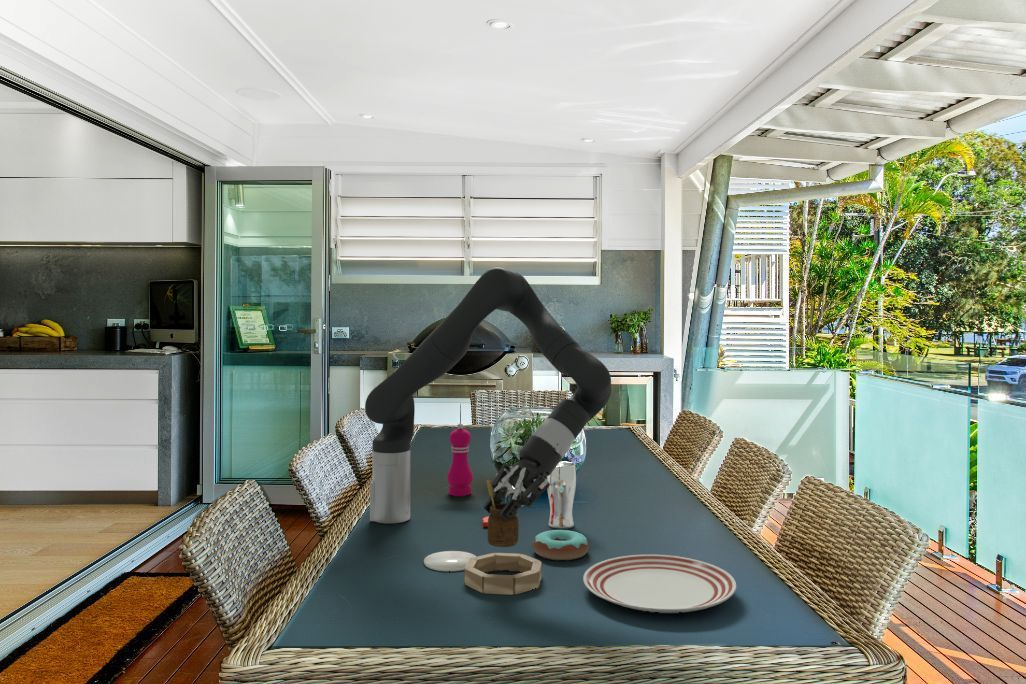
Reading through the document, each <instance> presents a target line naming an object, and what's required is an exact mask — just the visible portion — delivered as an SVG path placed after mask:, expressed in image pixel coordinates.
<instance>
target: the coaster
mask: <svg viewBox="0 0 1026 684" xmlns="http://www.w3.org/2000/svg"><path fill="white" fill-rule="evenodd" d="M473 557H478V556H476V555H475V554H473V553H471V552H467V551H459V550H446V551H445V550H444V551H437V552H434V553H431V554H428V555H427V556H426V557H424V558H423V559H424V560H423V563H424V566H425V567H426V568H428V569H430V570H434V571H437V572H438V571H439V572H449V571H450V572H460V571H464V568H465V566H466V564H467V562H468V560H469V559H471V558H473Z"/></svg>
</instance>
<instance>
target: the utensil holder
mask: <svg viewBox="0 0 1026 684" xmlns="http://www.w3.org/2000/svg"><path fill="white" fill-rule="evenodd" d="M491 484H492V483H491V479H490V478H488V479H487V480H486V485H487V491H488V495H489V497H491V499H492V504H493V505H492V506H491V507H490V515H489V518H488V527H487V543H488V544H489V545H491V546H493V547H497V548H509V547H510V548H511V547H513V546H515V545H517V544H518V543H519V526H520V523H519V518H518V515H517V514H518V510H517V511H516V513H515V514H514V515H513V517H512V518H511V519H510V520H509V521H508V522H506V521H504V520H503V519H502V518H501V517H500V515H499V514H500V512H501V511H502V510H503V508H504V507H505V506H506V504H507V503H500V504H494V500H493V493H494V490H493V488H492V486H491ZM511 488H514V489H515V487H511ZM511 488H510V489H511ZM510 489H509V490H510ZM509 490H507V491H509ZM512 490H513V489H512ZM511 492H512V491H511ZM507 493H508V492H507ZM514 493H515V491H514ZM514 493H513V494H514ZM506 495H507V494H506ZM508 496H509V497H511V496H512V494H511V493H509V495H507V496H506V497H505V498H507V497H508ZM509 500H510V498H508V500H507V501H508V502H509Z"/></svg>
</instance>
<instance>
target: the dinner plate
mask: <svg viewBox="0 0 1026 684" xmlns="http://www.w3.org/2000/svg"><path fill="white" fill-rule="evenodd" d="M582 578H583V579H582V581H583V583H584V586H585V587H586V588H587V590H588V591H589V592H591V593H592V594H594V595H595V596H597V597H599V598H601V599H603V600H605V601H608V602H610V603H612V604H615V605H619V606H621V607H624V608H629V609H632V610H637V611H641V610H642V612H646V611H649V612H648V613H654V612H659V613H658V614H680V613H679V612H682V613H690V612H696V611H697V612H698V611H701V610H705V609H709V608H712V607H715V606H718V605H720V604H722V603H724V602H726V601H727V600H728V599H730V598H731V597H732V596H733V595H734V594H735V593H736V590H737V583H736V580H735V578H734V576H733V575H731V573H729V572H728V571H726V570H725V569H723V568H721V567H719V566H716V565H714V564H712V563H708V562H705V561H702V560H698V559H694V558H689V557H684V556H683V557H682V556H678V555H668V554H631V555H623V556H617V557H613V558H608V559H605V560H602V561H599V562H597V563H595V564H593V565H591V566H590V567H588V568H587V570H585V572H584V573H583V577H582Z"/></svg>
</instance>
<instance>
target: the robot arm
mask: <svg viewBox="0 0 1026 684" xmlns="http://www.w3.org/2000/svg"><path fill="white" fill-rule="evenodd" d="M495 310H496V311H497V310H498V311H499V310H500V311H503V312H507V313H508V312H509V313H510V314H511V315H513V316H514V317H515V318H517V319H518V320H519V321H520V322H521V323H523V325H524V326H525V327H526V328H527V329H528V331H529V333H530V335H531V337H532V339H533V341H534V344H535V345H536V347H537V349H538V350H539V351H540V353H541V354H542V355H543V356H544V358H546V360H547V361H548V362H549V363H550V364H551V365H552V367H554V368H555V370H556V371H558V372H559V373H560V374H562V375H566V376H567V375H568V376H569V377H570V378H571V379H572V380H573V381H574V383H575V385H576V390H575V391H574V392H573V394H572V395H571V397H569V398H566V399H565V398H564V399H562V400H561V401H560V402H558V403H557V404H556V405H555V407H554V409H553V410H552V411H551V412H550V414H549V415H548V416H547V417H546V418H545V420H544V421H543V422H541V424H540V425H539V426H538V427H537V428H536V429H535V431H534V432H533V433H532V434H531V436H530V437H529V438H528V440H527V441H526V442H525V443H524V445H523V446H522V447H521V449H520V450H519V452H518V455H519V460H518V461H516V462H515V463H514V464H513V465H509V464H508V463H506V462H505V463H503V464H502V466H501V468H500V469H499V471H498V472H497V473H496V474H497V476H496V475H495V477H494V479H493V481H492V483H491V486H492V490H493V500H494V504H502V502H503V501H504V499H506V498H507V497H508V496H510V495H509V493H510V494H513V495H512V497H511V498H509V501H508V502H506V503H505V504H506V506H505V507H504V508H503V510H502V511H501V512H500V514H499V515H500V517H501V518H502V519H503V520H504V521H506V522H508V521H509V520H510V519H511V518H512V517H513V515H514V514H515V513H516V511H517V512H518V509H520V508H523V507H524V506H526V507H531V506H532V505H533V504H534V503H535V502H536V501H537V500H538V499H539V498H540V497H541V496H542V495H543V494H544V493H545V491H547V488H548V487H549V486H550V483H549V482H548V481H547V478H545V477H547V476H549V475H550V474H551V473H552V471H553V470H554V469H555V467H556V466H557V465H558V463H559V462H560V461H562V459H564V457H565V455H566V454H567V453H568V451H569V450H570V448H571V447H572V445H573V443H574V441H575V440H576V439H577V438H578V436H579V435H580V433H581V432H582V431H583V429H584V428H585V426H586V424H588V422H590V421H591V420H592V419H594V417H596V416H597V415H598V414H599V413H600V412H601V411H602V410H603V408H604V407H605V406H606V405H607V403H608V402H609V400H610V398H611V395H612V376H611V375H612V374H611V372H610V370H609V369H608V368H607V366H606V365H605V364H604V363H603V362H602V361H601V360H600V359H599V358H597V357H596V356H594V355H593V354H592V353H590V352H588V351H587V350H585V349H583V348H582V346H581V345H580V344H579V343H578V342H577V341H576V340H575V339H574V338H573V337H572V336H571V335H570V334H569V333H568V332H567V331H566V330H565V328H564V327H562V325H561V324H560V323H558V322H557V320H556V319H555V318H554V317H553V316H552V314H551V313H550V312H549V311H548V310H547V308H546V307H545V305H544V304H543V303H542V301H541V300H540V298H539V297H538V295H537V293H536V292H535V290H533V288H532V286H531V285H530V283H529V281H527V279H526V277H524V276H523V275H522V274H521V273H518V272H517V271H513V270H510V269H506V268H504V267H497V266H496V267H492V268H490V269H488V270H486V271H485V272H483V274H482V275H481V276H480V277H479V278H478V279H477V281H476V282H475V283H474V284H473V285H472V287H470V289H469V291H468V292H467V293H466V294H465V296H464V297H463V298H462V300H461V301H460V302H459V303H458V305H456V307H455V308H453V310H452V311H451V312H450V313H449V314H448V315H447V316H446V317H445V319H443V320H442V322H441V323H440V324H439V325H438V326H437V327H435V329H433V331H432V332H430V333H429V334H428V336H426V338H425V339H423V341H422V342H421V343H420V344H419V345H418V347H416V348H415V350H413V352H412V353H411V354H409V356H408V357H407V358H406V359H405V360H404V361H403V362H402V363H401V364H400V366H399V367H397V369H395V371H394V372H393V373H391V374H390V375H389V376H388V377H386V378H385V379H384V380H383V381H381V382H380V383H379V384H378V385H377V386H375V387H373V389H372V390H371V391H370V392H369V394H368V395H367V397H366V399H365V403H364V405H365V406H364V411H365V415H366V417H367V418H368V419H369V420H370V421H371V422H373V423H375V424H379V425H380V424H381V425H382V428H381V430H380V432H379V433H378V434H377V435H376V436H375V437H374V438H373V440H372V445H371V447H372V454H371V455H372V456H371V457H372V459H371V461H372V480H371V481H370V482H369V522H376V523H378V524H399V523H405V522H407V521H409V520H410V519H411V443H412V440H413V437H414V433H415V432H414V431H415V430H414V428H415V412H416V411H415V399H414V396H413V395H414V394H415V393H416V392H418V391H420V390H421V389H423V388H424V387H426V386H428V385H429V384H431V383H433V382H434V381H436V380H437V379H440V377H442V376H444V375H445V374H447V372H449V371H450V370H451V369H452V368H453V367H455V366H456V365H457V363H459V362H460V360H461V359H462V358H463V357H464V356H466V354H467V352H468V350H469V348H470V347H471V346H470V345H471V343H472V340H473V336H474V333H475V332H476V330H477V328H478V327H479V325H480V324H481V323H482V322H483V321H484V320H485V319H486V318H487V317H488V316H490V314H492V313H493V312H494V311H495ZM498 483H500V484H499V485H498ZM511 487H515V489H514V488H511ZM505 488H506V489H505ZM510 488H511V489H510ZM509 489H510V490H509ZM512 489H513V490H512ZM507 490H509V491H507ZM511 491H512V492H511ZM514 491H515V493H514ZM507 492H508V493H507ZM506 494H507V495H506ZM506 496H507V497H506ZM489 497H490V496H489ZM492 505H493V504H492V499H491V497H490V498H488V499H487V501H486V503H485V504H484V505H483V510H485V512H487V513H488V514H490V507H491V506H492ZM490 515H491V514H490Z"/></svg>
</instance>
